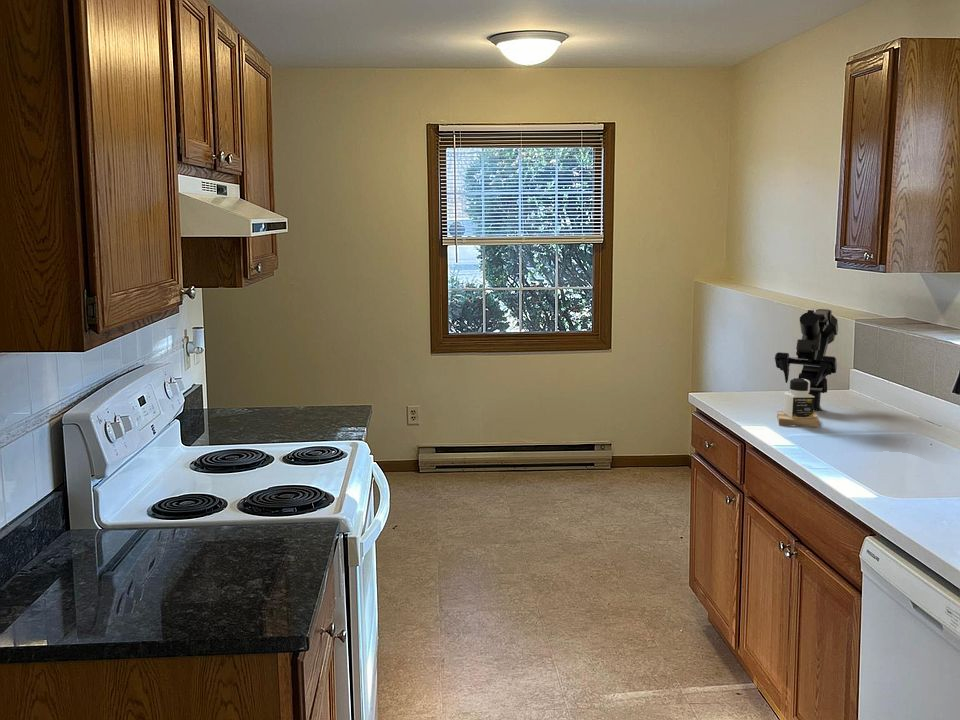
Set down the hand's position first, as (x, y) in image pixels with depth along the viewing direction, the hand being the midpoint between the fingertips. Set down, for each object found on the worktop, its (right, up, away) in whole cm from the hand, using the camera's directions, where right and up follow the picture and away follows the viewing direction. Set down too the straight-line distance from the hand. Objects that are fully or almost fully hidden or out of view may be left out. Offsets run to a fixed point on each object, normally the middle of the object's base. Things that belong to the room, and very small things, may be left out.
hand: (800, 383), depth 305 cm
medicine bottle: (-1, -11, +1) cm, 11 cm away
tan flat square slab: (-1, -12, +1) cm, 12 cm away
